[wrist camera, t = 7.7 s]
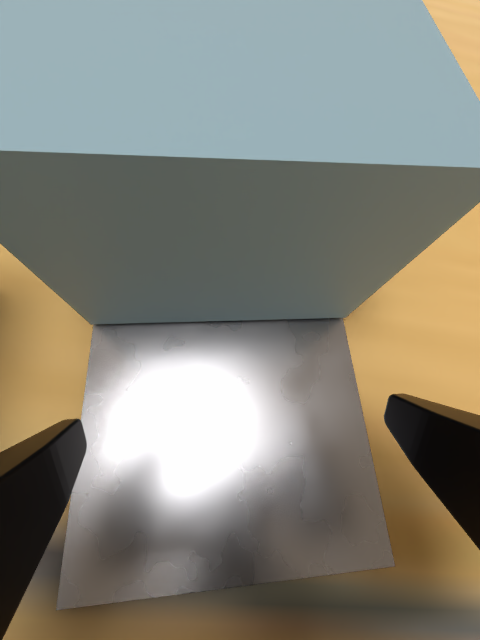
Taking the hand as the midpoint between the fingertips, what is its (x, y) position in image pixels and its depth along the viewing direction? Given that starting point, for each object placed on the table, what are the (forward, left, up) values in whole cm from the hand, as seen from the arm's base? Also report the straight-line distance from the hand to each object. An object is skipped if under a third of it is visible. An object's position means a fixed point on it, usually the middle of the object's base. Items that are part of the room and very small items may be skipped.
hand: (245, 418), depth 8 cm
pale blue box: (+10, 0, -6) cm, 12 cm away
